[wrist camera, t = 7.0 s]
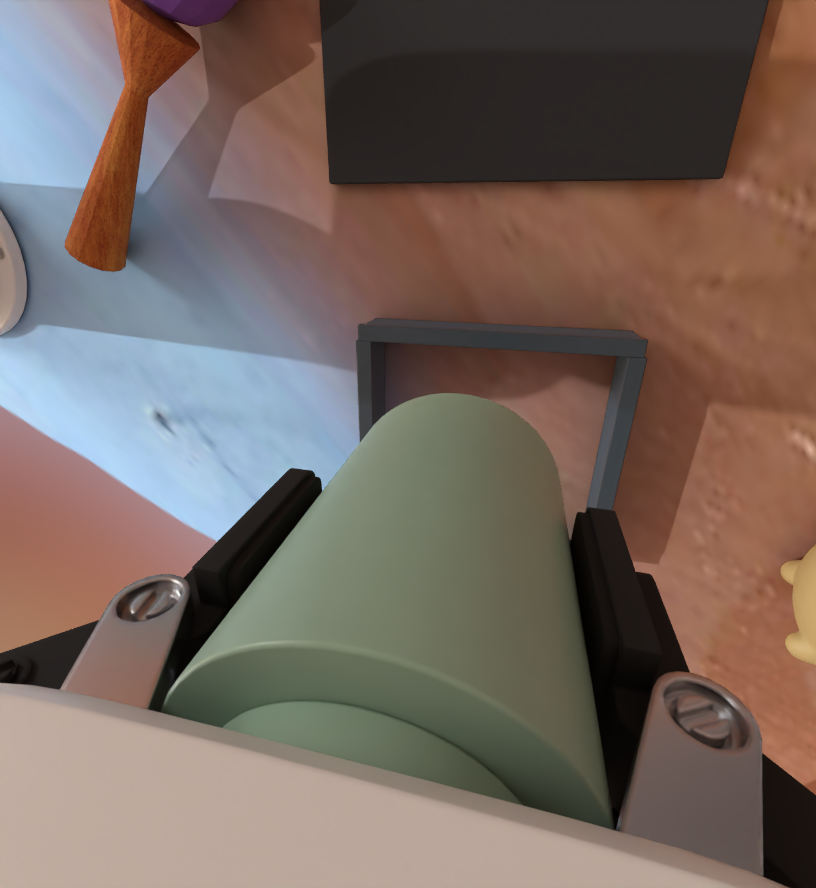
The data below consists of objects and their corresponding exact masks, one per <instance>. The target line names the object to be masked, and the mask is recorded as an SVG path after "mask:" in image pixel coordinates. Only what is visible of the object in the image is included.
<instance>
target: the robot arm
mask: <svg viewBox="0 0 816 888" xmlns="http://www.w3.org/2000/svg"><path fill="white" fill-rule="evenodd" d="M26 298H27V278H26V271H25V265H24V261H23V258H22V254H21V251H20V247H19V245H18V243H17V240H16V238H15V235H14V233H13V231H12V229H11V227H10V225H9V223H8V222H7V220H6V218H5V216H4V215H3V213H2V211H1V210H0V335H2V334H4V333H5V332H7V331H9V330H11V329H12V328H13V327H14V326H15V325H16V324H17V322H18V321H19V319H20V317H21V315H22V313H23V311H24V307H25V303H26ZM321 493H322V484H321V479H320V478H319V477H315V474H314V472H313V471H310V470H302V469H294V468H291V469H289V470H288V471H287V472H286V473H285V474H284V475H283V476H282V477H281V478H280V479H279V480H278V481H277V482H276V483H275V484H274V485H273V486H272V487H271V488H270V489H269V490H268V491H267V492H266V493H265V494H264V495H263V496H262V497H261V498H260V499H259V500H258V501H257V502H256V503H255V504H254V505H253V506H252V507H251V508H250V509H249V510H248V511H247V512H246V513H245V514H244V515H243V516H242V517H241V518H240V519H239V521H238V522H237V523H236V524H235V525H234V526H233V527H232V528H231V529H230V530H229V531H228V532H227V533H226V534H225V535H224V536H223V537H222V538H221V539H220V540H219V541H218V542H217V543H216V544H215V545H214V546H213V547H212V548H211V549H210V550H209V551H208V552H207V553H206V554H205V555H204V556H203V557H202V558H201V559H200V560H199V561H198V562H197V563H196V564H195V565H194V566H193V569H192V570H191V571H190V572H189V573H188V574H187V575H186V576H185V577H184V578H182V577H179V576H176V575H172V574H171V575H170V574H161V575H155V576H150V577H147V578H144V579H141V580H138V581H136V582H134V583H132V584H130V585H129V586H127V587H125V588H124V589H122V590H121V591H120V592H119V593H117V594H116V595H115V597H114V598H113V599H112V600H111V601H110V603H109V604H108V606H107V608H106V609H105V611H104V613H103V615H102V616H101V618H100V620H98V621H95V622H92V623H89V624H86V625H83V626H80V627H77V628H74V629H71V630H68V631H65V632H62V633H59V634H56V635H53V636H50V637H48V638H45V639H42V640H39V641H36V642H33V643H30V644H27V645H24V646H21V647H18V648H15V649H12V650H9V651H6V652H3V653H0V888H816V795H814V793H812V792H811V791H810V790H808V789H807V788H806V787H805V786H803V785H802V784H801V783H800V782H798V781H797V780H796V779H794V778H793V777H792V776H791V775H789V774H788V773H787V772H785V771H784V770H783V769H782V768H780V767H779V766H778V765H777V764H775V763H774V762H773V761H771V760H770V759H769V758H768V757H766V756H765V755H764V754H763V753H762V738H761V734H760V729H759V726H758V724H757V722H756V720H755V719H754V717H753V715H752V713H751V712H750V711H749V710H748V708H747V707H746V706H745V705H744V704H743V703H742V702H741V701H740V700H739V699H738V698H737V697H736V696H735V695H733V694H732V693H731V692H730V691H728V690H727V689H726V688H725V687H723V686H721V685H719V684H717V683H716V682H714V681H712V680H710V679H708V678H706V677H703V676H700V675H697V674H694V673H690V672H689V669H688V666H687V664H686V661H685V659H684V656H683V653H682V651H681V648H680V646H679V643H678V640H677V638H676V635H675V633H674V630H673V627H672V625H671V622H670V620H669V617H668V614H667V612H666V609H665V606H664V604H663V601H662V599H661V596H660V593H659V591H658V588H657V586H656V583H655V581H654V579H653V577H652V576H651V575H650V574H647V573H640V572H635V569H634V566H633V563H632V560H631V557H630V554H629V551H628V548H627V545H626V542H625V539H624V536H623V533H622V530H621V527H620V525H619V522H618V519H617V516H616V513H615V511H614V510H607V509H599V508H592V507H588V508H587V510H586V512H585V513H582V512H578V513H577V515H576V519H575V524H574V528H573V533H572V538H571V543H570V548H571V554H572V560H573V567H574V573H575V579H576V586H577V592H578V598H579V605H580V611H581V617H582V624H583V630H584V636H585V642H586V649H587V655H588V661H589V668H590V674H591V680H592V687H593V693H594V699H595V706H596V712H597V718H598V725H599V731H600V737H601V743H602V750H603V756H604V762H605V769H606V775H607V781H608V788H609V794H610V800H611V807H612V813H613V819H614V826H615V830H612V829H608V828H605V827H601V826H598V825H594V824H590V823H587V822H583V821H580V820H576V819H572V818H569V817H565V816H561V815H557V814H553V813H550V812H546V811H542V810H538V809H534V808H531V807H527V806H523V805H519V804H515V803H511V802H508V801H504V800H500V799H496V798H492V797H489V796H485V795H481V794H477V793H473V792H470V791H466V790H462V789H458V788H454V787H450V786H447V785H443V784H439V783H435V782H431V781H428V780H424V779H420V778H416V777H412V776H408V775H404V774H400V773H397V772H393V771H389V770H385V769H381V768H377V767H373V766H369V765H366V764H362V763H358V762H354V761H350V760H346V759H342V758H338V757H334V756H330V755H327V754H323V753H319V752H315V751H311V750H307V749H303V748H299V747H295V746H291V745H287V744H283V743H280V742H276V741H272V740H268V739H264V738H260V737H256V736H252V735H248V734H244V733H240V732H236V731H232V730H228V729H224V728H220V727H216V726H212V725H208V724H204V723H200V722H196V721H192V720H188V719H184V718H180V717H176V716H172V715H168V714H164V713H161V710H162V706H163V704H164V701H165V699H166V696H167V694H168V692H169V690H170V689H171V687H172V686H173V684H174V683H175V682H176V680H177V679H178V677H179V676H180V675H181V674H182V672H183V671H184V670H185V668H186V667H187V666H188V665H189V663H190V662H191V661H192V659H193V658H194V657H195V655H196V654H197V653H198V652H199V650H200V649H201V648H202V646H203V645H204V644H205V643H206V641H207V640H208V639H209V637H210V636H211V635H212V633H213V632H214V631H215V630H216V628H217V627H218V626H219V624H220V623H221V622H222V621H223V619H224V618H225V617H226V615H227V614H228V613H229V612H230V610H231V609H232V608H233V606H234V605H235V604H236V602H237V601H238V600H239V599H240V597H241V596H242V595H243V593H244V592H245V591H246V590H247V588H248V587H249V586H250V584H251V583H252V582H253V580H254V579H255V578H256V577H257V575H258V574H259V573H260V571H261V570H262V569H263V568H264V566H265V565H266V564H267V562H268V561H269V560H270V559H271V557H272V556H273V555H274V553H275V552H276V551H277V549H278V548H279V547H280V546H281V544H282V543H283V542H284V540H285V539H286V538H287V537H288V535H289V534H290V533H291V531H292V530H293V529H294V527H295V526H296V525H297V524H298V522H299V521H300V520H301V518H302V517H303V516H304V515H305V513H306V512H307V511H308V509H309V508H310V507H311V506H312V504H313V503H314V502H315V500H316V499H317V498H318V496H319V495H320V494H321Z"/></svg>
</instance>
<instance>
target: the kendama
mask: <svg viewBox="0 0 816 888" xmlns="http://www.w3.org/2000/svg"><path fill="white" fill-rule="evenodd" d="M236 3H237V0H109V4H110V9H111V14H112V19H113V24H114V29H115V34H116V39H117V44H118V49H119V54H120V59H121V64H122V69H123V74H124V79H125V86H124V89H123V91H122V94H121V97H120V99H119V102H118V104H117V107H116V110H115V112H114V115H113V117H112V120H111V123H110V125H109V128H108V131H107V133H106V136H105V138H104V141H103V144H102V146H101V149H100V151H99V154H98V157H97V159H96V162H95V165H94V167H93V170H92V172H91V175H90V178H89V180H88V183H87V185H86V188H85V191H84V193H83V196H82V198H81V201H80V204H79V206H78V209H77V212H76V214H75V217H74V219H73V222H72V225H71V227H70V230H69V232H68V235H67V238H66V240H65V248H66V250H67V251H68V253H69V254H70V255H71V256H73V257H74V258H75V259H77V260H78V261H80V262H82V263H84V264H86V265H87V266H89V267H93V268H96V269H99V270H102V271H111V272H114V271H120V270H122V269H123V268H124V267H125V264H126V257H127V250H128V242H129V235H130V228H131V221H132V213H133V206H134V199H135V192H136V184H137V177H138V170H139V162H140V155H141V148H142V141H143V133H144V126H145V119H146V112H147V104H148V97H149V96H151V95H152V94H153V93H154V92H155V91H156V90H157V89H158V88H159V87H160V86H161V85H162V84H163V83H164V82H165V81H167V80H168V79H169V78H170V77H171V76H172V75H173V74H174V73H175V72H176V71H177V70H178V69H179V68H180V67H181V66H183V65H184V64H185V63H186V62H187V61H188V60H189V59H190V58H191V57H192V56H193V55H194V54H195V53H196V52H197V51H199V50H200V46H199V44H198V43H197V42H196V40H195V39H194V38H193V37H192V36H191V35H190V34H189V33H187V32H186V31H185V30H184V29H183V28H182V27H180V26H179V25H178V24H177V23H176V22H179V23H182V24H186V25H189V26H195V27H197V26H201V25H205V24H209V23H213V22H217V21H220V20H221V19H222V18H223V17H224V15H225V14H226V13H227V12H228V11H229V10H230V9H231V8H232V7H233V6H234V5H235V4H236ZM174 21H175V22H174Z"/></svg>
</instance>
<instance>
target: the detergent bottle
mask: <svg viewBox="0 0 816 888" xmlns="http://www.w3.org/2000/svg"><path fill="white" fill-rule="evenodd" d="M161 713H164V714H168V715H172V716H176V717H180V718H184V719H188V720H192V721H196V722H200V723H204V724H208V725H212V726H216V727H220V728H224V729H228V730H232V731H236V732H240V733H244V734H248V735H252V736H256V737H260V738H264V739H268V740H272V741H276V742H280V743H283V744H287V745H291V746H295V747H299V748H303V749H307V750H311V751H315V752H319V753H323V754H327V755H330V756H334V757H338V758H342V759H346V760H350V761H354V762H358V763H362V764H366V765H369V766H373V767H377V768H381V769H385V770H389V771H393V772H397V773H400V774H404V775H408V776H412V777H416V778H420V779H424V780H428V781H431V782H435V783H439V784H443V785H447V786H450V787H454V788H458V789H462V790H466V791H470V792H473V793H477V794H481V795H485V796H489V797H492V798H496V799H500V800H504V801H508V802H511V803H515V804H519V805H523V806H527V807H531V808H534V809H538V810H542V811H546V812H550V813H553V814H557V815H561V816H565V817H569V818H572V819H576V820H580V821H583V822H587V823H590V824H594V825H598V826H601V827H605V828H608V829H612V830H615V826H614V819H613V813H612V807H611V800H610V794H609V788H608V781H607V775H606V769H605V762H604V756H603V750H602V743H601V737H600V731H599V725H598V718H597V712H596V706H595V699H594V693H593V687H592V680H591V674H590V668H589V661H588V655H587V649H586V642H585V636H584V630H583V624H582V617H581V611H580V605H579V598H578V592H577V586H576V579H575V573H574V567H573V560H572V554H571V548H570V541H569V535H568V529H567V522H566V516H565V510H564V504H563V497H562V491H561V485H560V479H559V474H558V469H557V466H556V463H555V461H554V458H553V455H552V454H551V452H550V450H549V448H548V446H547V445H546V443H545V442H544V440H543V439H542V438H541V436H540V435H539V434H538V432H537V431H536V430H535V429H534V428H533V427H532V426H531V425H530V424H529V423H528V422H526V421H525V420H524V419H523V418H521V417H520V416H519V415H517V414H516V413H514V412H513V411H511V410H509V409H508V408H506V407H504V406H502V405H500V404H498V403H495V402H493V401H491V400H488V399H484V398H481V397H477V396H473V395H467V394H460V393H440V394H430V395H426V396H422V397H418V398H415V399H412V400H409V401H407V402H404V403H402V404H400V405H399V406H397V407H395V408H393V409H392V410H390V411H389V412H388V413H386V414H385V415H384V416H382V417H381V418H380V419H379V420H378V421H377V422H376V423H375V424H374V425H373V427H372V428H371V429H370V431H369V432H368V433H367V434H366V436H365V437H364V438H363V440H362V441H361V442H360V443H359V445H358V446H357V447H356V449H355V450H354V451H353V453H352V454H351V455H350V456H349V458H348V459H347V460H346V462H345V463H344V464H343V465H342V467H341V468H340V469H339V471H338V472H337V473H336V474H335V476H334V477H333V478H332V480H331V481H330V482H329V484H328V485H327V486H326V487H325V489H324V490H323V491H322V493H321V494H320V495H319V496H318V498H317V499H316V500H315V502H314V503H313V504H312V506H311V507H310V508H309V509H308V511H307V512H306V513H305V515H304V516H303V517H302V518H301V520H300V521H299V522H298V524H297V525H296V526H295V527H294V529H293V530H292V531H291V533H290V534H289V535H288V537H287V538H286V539H285V540H284V542H283V543H282V544H281V546H280V547H279V548H278V549H277V551H276V552H275V553H274V555H273V556H272V557H271V559H270V560H269V561H268V562H267V564H266V565H265V566H264V568H263V569H262V570H261V571H260V573H259V574H258V575H257V577H256V578H255V579H254V580H253V582H252V583H251V584H250V586H249V587H248V588H247V590H246V591H245V592H244V593H243V595H242V596H241V597H240V599H239V600H238V601H237V602H236V604H235V605H234V606H233V608H232V609H231V610H230V612H229V613H228V614H227V615H226V617H225V618H224V619H223V621H222V622H221V623H220V624H219V626H218V627H217V628H216V630H215V631H214V632H213V633H212V635H211V636H210V637H209V639H208V640H207V641H206V643H205V644H204V645H203V646H202V648H201V649H200V650H199V652H198V653H197V654H196V655H195V657H194V658H193V659H192V661H191V662H190V663H189V665H188V666H187V667H186V668H185V670H184V671H183V672H182V674H181V675H180V676H179V677H178V679H177V680H176V682H175V683H174V684H173V686H172V687H171V689H170V690H169V692H168V694H167V696H166V699H165V701H164V704H163V706H162V710H161Z"/></svg>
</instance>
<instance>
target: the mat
mask: <svg viewBox="0 0 816 888" xmlns="http://www.w3.org/2000/svg"><path fill="white" fill-rule="evenodd" d="M768 1H769V0H320V16H321V34H322V53H323V71H324V89H325V108H326V126H327V144H328V163H329V181H330V183H331V184H383V183H459V182H535V181H610V180H686V179H720V178H723V175H724V171H725V168H726V164H727V160H728V156H729V152H730V148H731V144H732V140H733V137H734V133H735V129H736V125H737V121H738V117H739V113H740V109H741V106H742V102H743V98H744V94H745V90H746V86H747V82H748V78H749V75H750V71H751V67H752V63H753V59H754V55H755V51H756V47H757V44H758V40H759V36H760V32H761V28H762V24H763V20H764V16H765V12H766V9H767V5H768Z"/></svg>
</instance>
